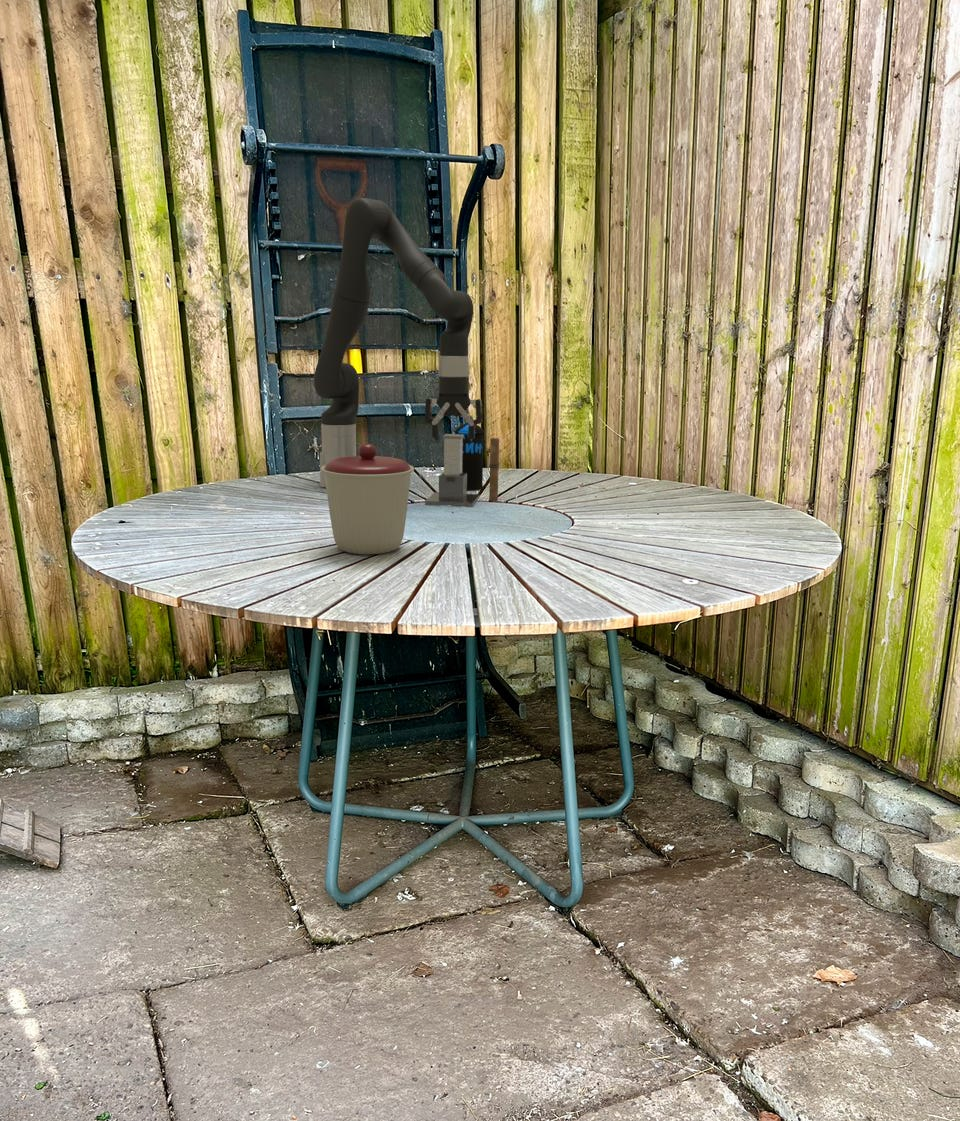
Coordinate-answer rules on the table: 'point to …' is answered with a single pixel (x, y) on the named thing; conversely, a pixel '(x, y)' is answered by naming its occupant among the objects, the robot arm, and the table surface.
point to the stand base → (452, 492)
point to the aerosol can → (472, 456)
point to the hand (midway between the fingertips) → (453, 440)
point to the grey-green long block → (453, 454)
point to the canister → (367, 501)
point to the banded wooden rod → (494, 469)
